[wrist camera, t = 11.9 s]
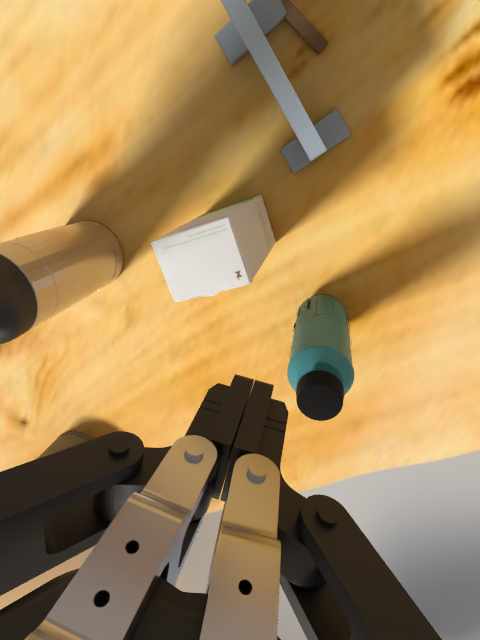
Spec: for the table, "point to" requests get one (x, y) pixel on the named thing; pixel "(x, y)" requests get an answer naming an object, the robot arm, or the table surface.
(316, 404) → the beverage bottle
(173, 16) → the table surface
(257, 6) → the screen
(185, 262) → the skincare box
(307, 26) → the bay
